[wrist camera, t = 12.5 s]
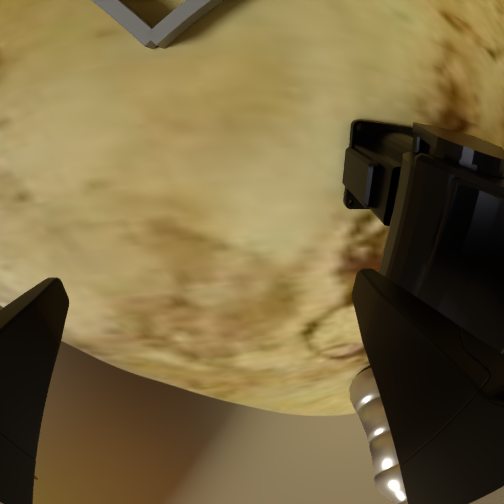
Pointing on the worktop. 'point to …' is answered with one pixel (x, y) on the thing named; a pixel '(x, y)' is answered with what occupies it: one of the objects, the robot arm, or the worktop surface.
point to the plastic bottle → (378, 436)
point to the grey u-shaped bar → (165, 30)
